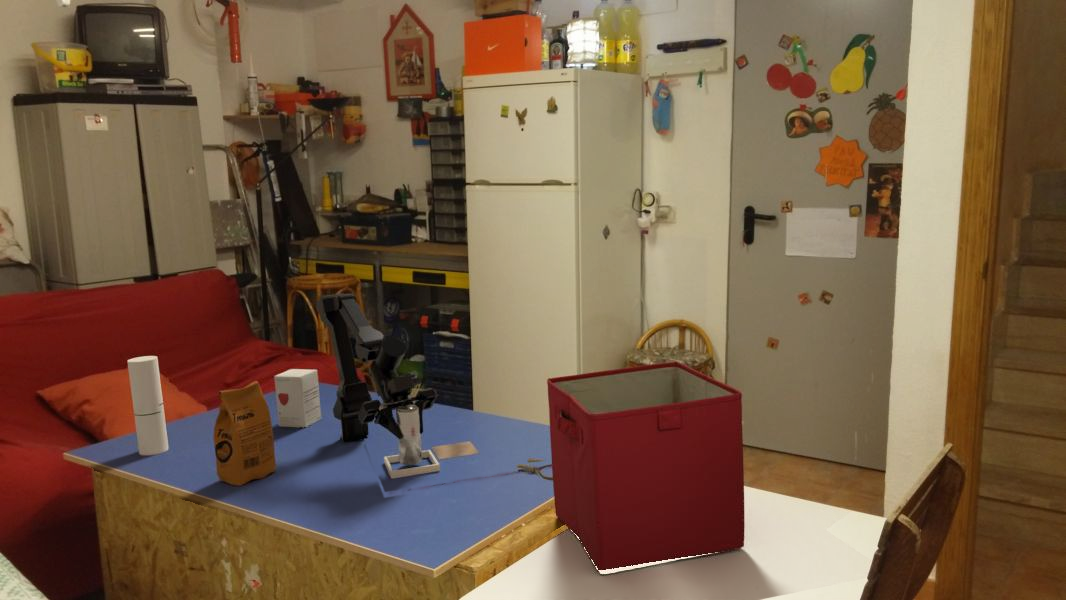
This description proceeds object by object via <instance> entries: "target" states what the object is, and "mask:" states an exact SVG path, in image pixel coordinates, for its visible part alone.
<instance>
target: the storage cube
mask: <svg viewBox="0 0 1066 600" xmlns="http://www.w3.org/2000/svg"><path fill="white" fill-rule="evenodd" d="M546 384H547V398H548V412H549V413H548V414H549V416H548V417H549V434H550V452H551V464H552V465H551V471H552V473H551V474H552V477H553V479H552V486H553V496H554V512H555V516H556V517H557V518H558V519H559V520H560V521H561V522H562V523H563V524H564V525H565V527H567V528H568V530H570V529H571V530H572V531H573V532H574V533H575V534H576V535H577V536H578V537H579V539H580V541H581V542H582V544H583V546H584V547H585V549H586V551H587V552H588V554H589V556H590V558H591V559H592V560H593V562H594V564H595V566H597V568H598V570H606V569H612V568H613V569H614V568H619V567H626V566H631V565H632V566H633V565H638V564H643V563H649V562H656V561H662V560H668V559H675V558H681V557H688V556H696V555H702V554H708V553H715V552H722V553H724V552H723V551H726V552H729V551H728V550H731V551H734V550H733V549H735V550H738V549H741V548H744V547H745V529H746V528H745V526H746V524H745V475H744V473H745V472H744V470H745V469H744V446H743V445H744V439H743V403H742V402H743V401H742V398H743V397H742V396H743V394H742V392H741V391H740V390H738V389H736V388H735V387H733V386H731V385H728V384H727V383H726V384H725V383H724V382H722V381H719V380H717V379H715V378H713V377H710V376H709V375H707V374H704V373H702V372H700V371H698V370H695V369H694V368H692V367H690V366H688V365H686V364H685V363H681V362H680V361H672V362H670V361H669V362H660V363H659V362H658V363H652V364H645V365H638V366H630V367H629V366H628V367H622V368H621V367H620V368H615V369H608V370H601V371H594V372H593V371H592V372H586V373H579V374H573V375H566V376H565V375H564V376H557V377H552V378H551V377H550V378H549V377H548V378H547V379H546ZM583 546H582V547H583Z"/></svg>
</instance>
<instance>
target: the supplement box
mask: <svg viewBox="0 0 1066 600" xmlns="http://www.w3.org/2000/svg"><path fill="white" fill-rule="evenodd" d="M318 374H319V373H318V370H317V369H307V368H306V369H305V368H304V369H303V368H302V369H300V368H290V369H287V370H286V371H283V372H281V373H278V374H276V375H274V387H275V397H276V398H275V399H276V406H277V407H276V408H277V416H278V417H277V418H278V427H285V428H286V427H287V428H300V427H302V428H303V429H304V427H306V428H307V427H309V425H310V426H311V425H313V424H315V423H317V422H318V421H321V420H322V411H321V410H322V409H321V402H320V401H321V400H320V391H319V390H320V385H319V375H318Z"/></svg>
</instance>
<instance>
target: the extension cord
mask: <svg viewBox="0 0 1066 600" xmlns="http://www.w3.org/2000/svg"><path fill="white" fill-rule="evenodd" d="M543 461H546V459H543V458H534V459H533V458H528V459H527V463H535V462H536V463H539V462H543ZM549 466H552V463H551V464H547V465H545V466H542V467H540V468H538V470H536V466H535V465H531V464H518V465H517V468H520V469H517V472H521V473H535V474H537V476H538V477H543V479H547V480H553V476H546V475H544V474H543V472H542V469H545V468H547V467H549ZM521 468H522V469H521Z"/></svg>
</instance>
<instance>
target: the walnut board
mask: <svg viewBox="0 0 1066 600" xmlns="http://www.w3.org/2000/svg"><path fill="white" fill-rule="evenodd" d="M430 447H431V450H432V451H433V453H434V454H435V455H436V457H437V459H438V460H446V459H452V458H458V457H465V456H471V455H479V454H480V452H479V451H478V449H477V448H476V447H475V445H474V444H473V443H472V442H471V441H470V440H469V441H464V442H456V443H450V444H443V445H436V446H430Z"/></svg>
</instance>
